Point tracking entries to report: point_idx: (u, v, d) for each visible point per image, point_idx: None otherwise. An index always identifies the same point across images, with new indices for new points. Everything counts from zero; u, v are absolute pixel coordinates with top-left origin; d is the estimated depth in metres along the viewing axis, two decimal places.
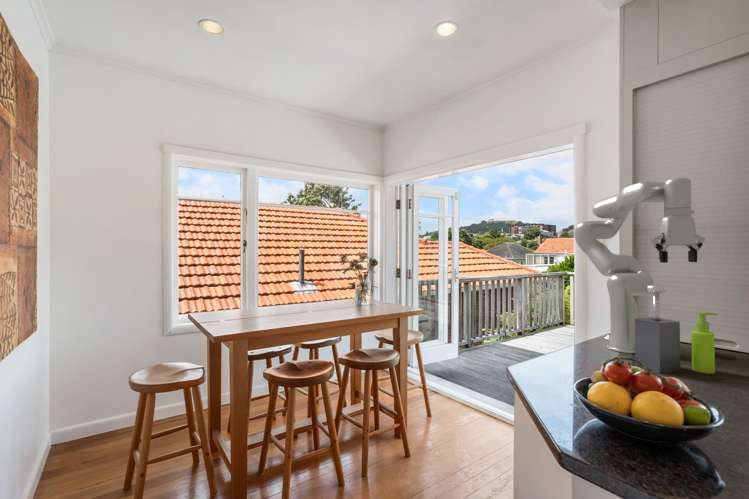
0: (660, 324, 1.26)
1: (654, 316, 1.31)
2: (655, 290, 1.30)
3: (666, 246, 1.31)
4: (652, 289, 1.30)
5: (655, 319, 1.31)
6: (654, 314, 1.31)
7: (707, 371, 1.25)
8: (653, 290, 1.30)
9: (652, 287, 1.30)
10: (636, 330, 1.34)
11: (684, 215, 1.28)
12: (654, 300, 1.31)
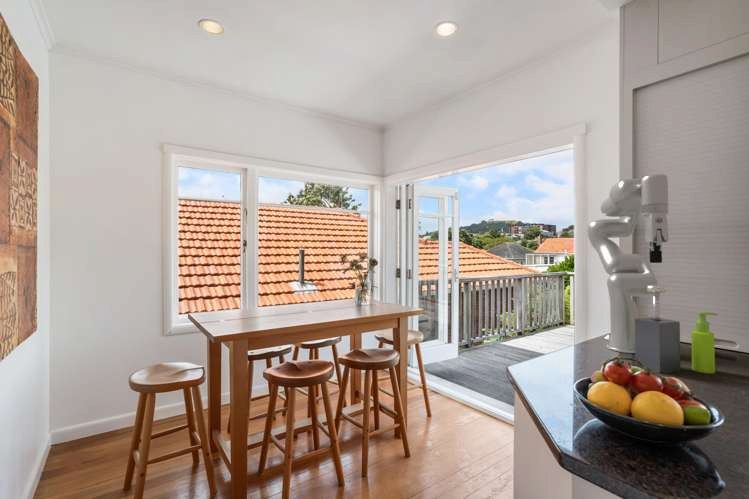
0: (660, 324, 1.26)
1: (654, 316, 1.31)
2: (655, 290, 1.30)
3: (649, 246, 1.33)
4: (652, 289, 1.30)
5: (655, 319, 1.31)
6: (654, 314, 1.31)
7: (707, 371, 1.25)
8: (653, 290, 1.30)
9: (652, 287, 1.30)
10: (636, 330, 1.34)
11: (642, 213, 1.33)
12: (654, 300, 1.31)
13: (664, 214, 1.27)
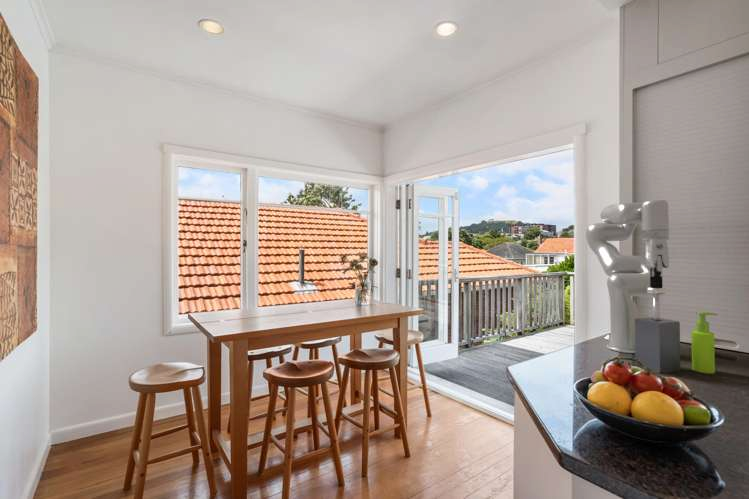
0: (660, 324, 1.26)
1: (654, 318, 1.31)
2: (655, 292, 1.30)
3: (650, 270, 1.33)
4: (652, 290, 1.30)
5: None
6: (654, 316, 1.31)
7: (707, 371, 1.25)
8: (653, 292, 1.30)
9: (652, 289, 1.30)
10: (636, 330, 1.34)
11: None
12: (654, 302, 1.31)
13: (665, 240, 1.27)
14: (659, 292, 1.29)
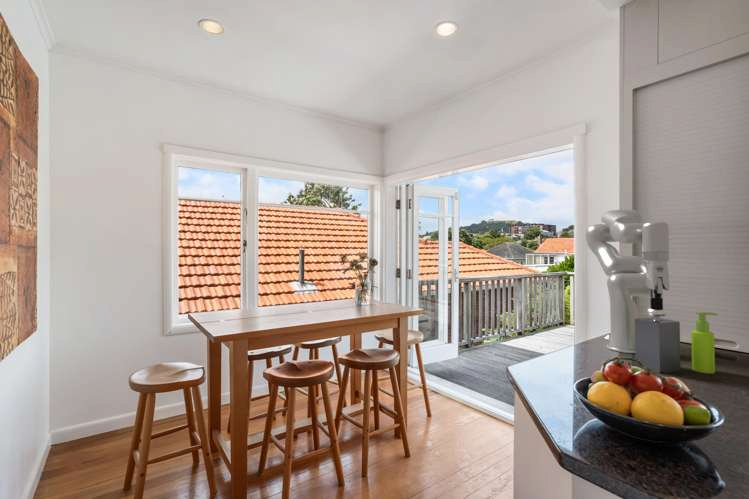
0: (660, 324, 1.26)
1: None
2: (655, 314, 1.30)
3: (650, 292, 1.33)
4: (653, 312, 1.30)
5: None
6: None
7: (707, 371, 1.25)
8: (653, 314, 1.30)
9: (652, 311, 1.30)
10: (636, 330, 1.34)
11: (642, 259, 1.33)
12: None
13: (665, 262, 1.27)
14: (659, 314, 1.29)
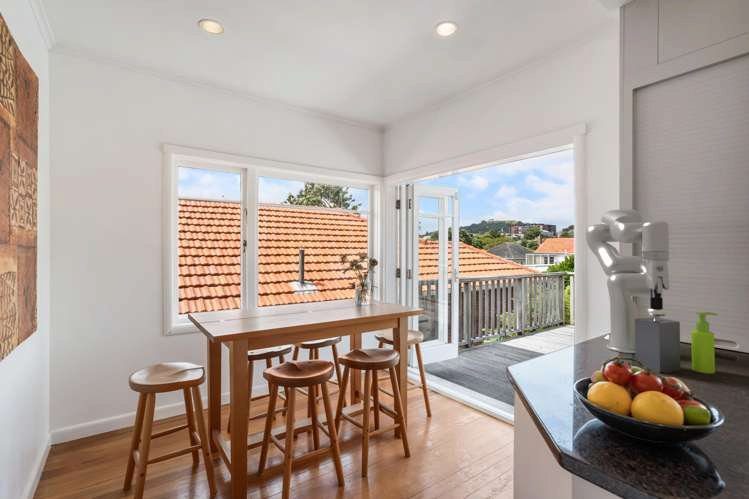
0: (660, 324, 1.26)
1: None
2: (655, 313, 1.30)
3: (650, 291, 1.33)
4: (653, 312, 1.30)
5: None
6: None
7: (707, 371, 1.25)
8: (653, 313, 1.30)
9: (652, 310, 1.30)
10: (636, 330, 1.34)
11: (642, 259, 1.33)
12: None
13: (665, 262, 1.27)
14: (659, 314, 1.29)
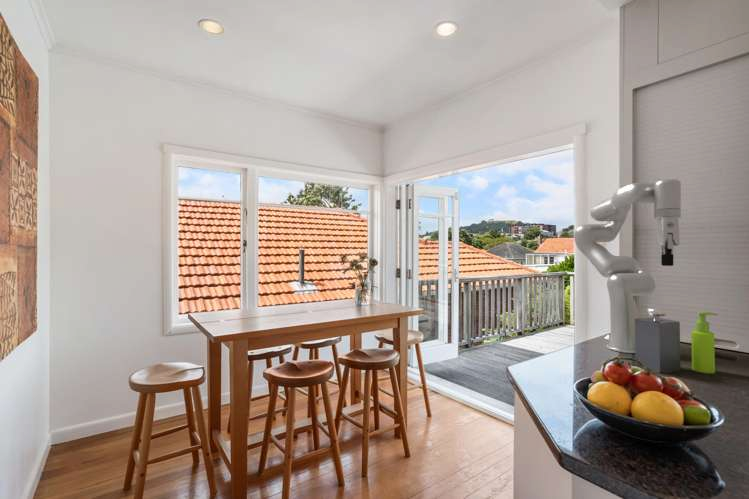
0: (660, 324, 1.26)
1: None
2: (655, 313, 1.30)
3: None
4: (653, 312, 1.30)
5: None
6: None
7: (707, 371, 1.25)
8: (653, 313, 1.30)
9: (652, 310, 1.30)
10: (636, 330, 1.34)
11: (654, 217, 1.36)
12: None
13: (676, 218, 1.30)
14: (659, 314, 1.29)
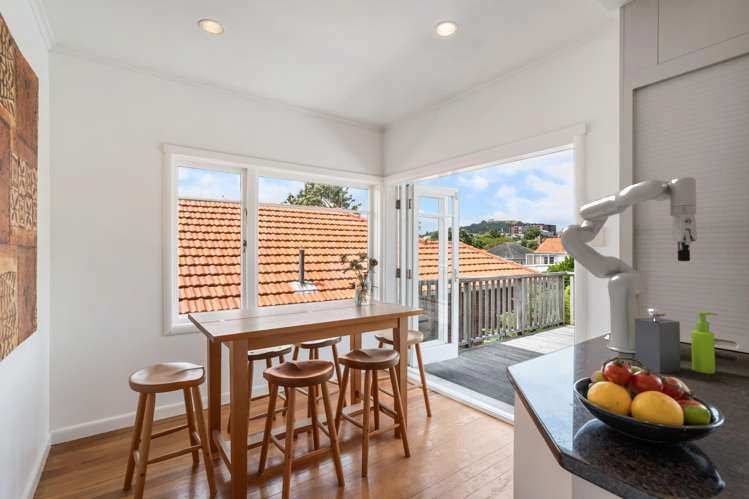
0: (660, 324, 1.26)
1: None
2: (655, 313, 1.30)
3: (677, 245, 1.40)
4: (653, 312, 1.30)
5: None
6: None
7: (707, 371, 1.25)
8: (653, 313, 1.30)
9: (652, 310, 1.30)
10: (636, 330, 1.34)
11: (670, 214, 1.40)
12: None
13: (693, 215, 1.34)
14: (659, 314, 1.29)
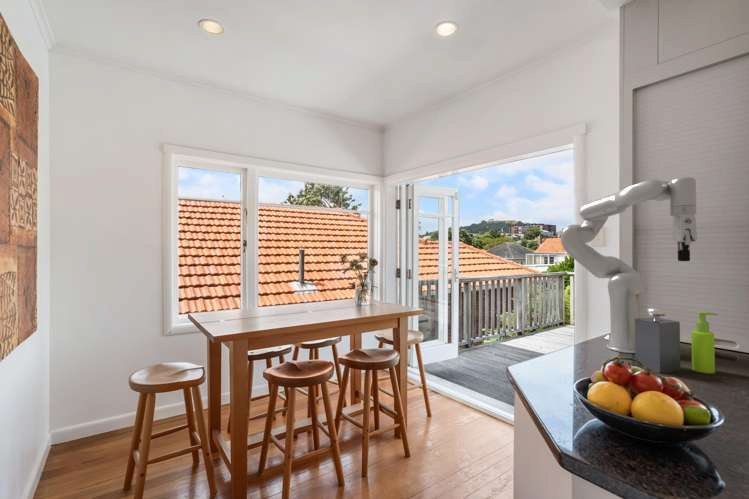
0: (660, 324, 1.26)
1: None
2: (655, 313, 1.30)
3: (677, 245, 1.40)
4: (653, 312, 1.30)
5: None
6: None
7: (707, 371, 1.25)
8: (653, 313, 1.30)
9: (652, 310, 1.30)
10: (636, 330, 1.34)
11: (670, 214, 1.40)
12: None
13: (693, 215, 1.34)
14: (659, 314, 1.29)
